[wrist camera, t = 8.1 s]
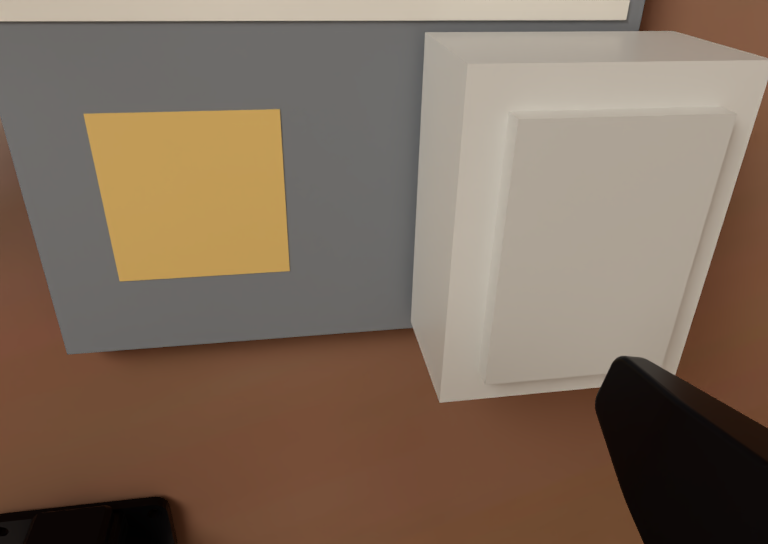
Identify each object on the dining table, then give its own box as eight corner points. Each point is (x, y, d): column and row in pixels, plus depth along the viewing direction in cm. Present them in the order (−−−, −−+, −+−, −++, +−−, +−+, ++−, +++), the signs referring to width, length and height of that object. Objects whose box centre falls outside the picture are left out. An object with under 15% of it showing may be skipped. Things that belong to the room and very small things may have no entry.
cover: (609, 306, 22) (685, 393, 18) (411, 321, 21) (444, 417, 17) (673, 31, 17) (793, 65, 13) (425, 32, 16) (476, 69, 12)
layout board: (566, 297, 23) (581, 316, 22) (77, 332, 21) (66, 356, 20) (719, -504, 13) (760, -542, 12) (-179, -627, 11) (-230, -688, 10)
